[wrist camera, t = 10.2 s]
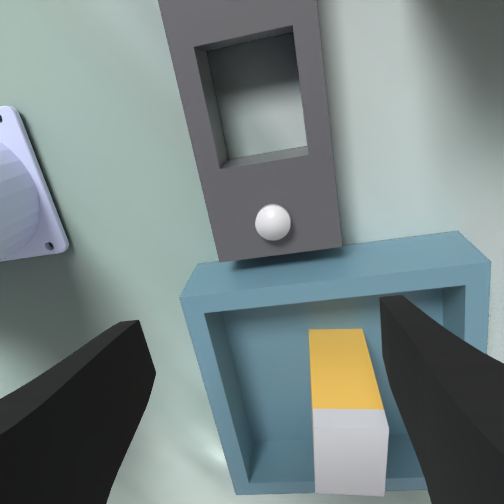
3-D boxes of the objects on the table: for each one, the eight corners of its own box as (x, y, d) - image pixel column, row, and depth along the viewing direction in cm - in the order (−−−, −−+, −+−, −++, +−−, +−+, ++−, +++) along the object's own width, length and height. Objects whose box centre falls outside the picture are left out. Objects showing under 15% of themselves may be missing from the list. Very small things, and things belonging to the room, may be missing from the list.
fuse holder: (227, 243, 22) (217, 267, 19) (159, -62, 17) (132, -90, 14) (337, 228, 21) (343, 251, 18) (301, -100, 16) (303, -140, 13)
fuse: (310, 384, 24) (315, 493, 18) (308, 329, 23) (313, 426, 16) (360, 384, 24) (384, 496, 18) (362, 328, 22) (389, 428, 16)
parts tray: (243, 443, 28) (236, 495, 24) (197, 264, 23) (179, 297, 19) (455, 432, 26) (480, 488, 22) (458, 230, 20) (491, 261, 17)
